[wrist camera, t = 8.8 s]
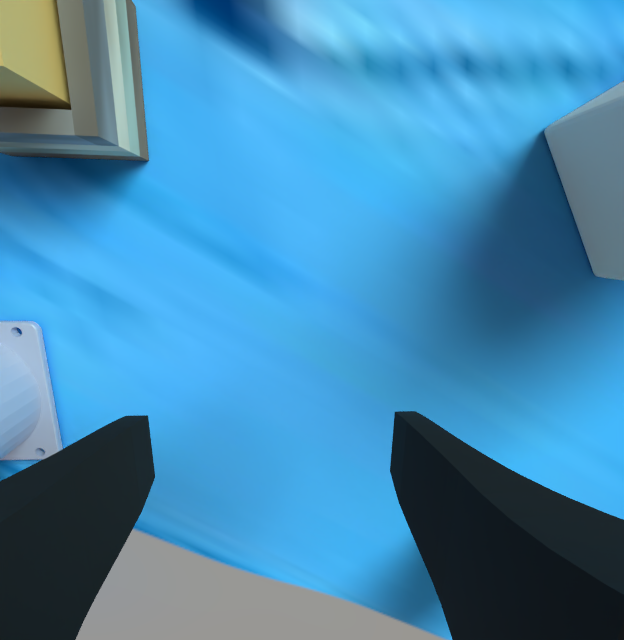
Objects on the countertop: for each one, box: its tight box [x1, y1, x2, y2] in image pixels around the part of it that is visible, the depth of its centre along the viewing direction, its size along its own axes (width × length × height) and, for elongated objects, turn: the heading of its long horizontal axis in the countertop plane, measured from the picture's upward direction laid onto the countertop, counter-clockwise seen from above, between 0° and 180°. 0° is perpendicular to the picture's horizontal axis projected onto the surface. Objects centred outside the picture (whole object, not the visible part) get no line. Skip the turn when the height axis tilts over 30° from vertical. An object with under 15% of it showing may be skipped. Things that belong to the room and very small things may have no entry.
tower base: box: [0, 0, 149, 161], centre depth 13 cm, size 6×6×4 cm
